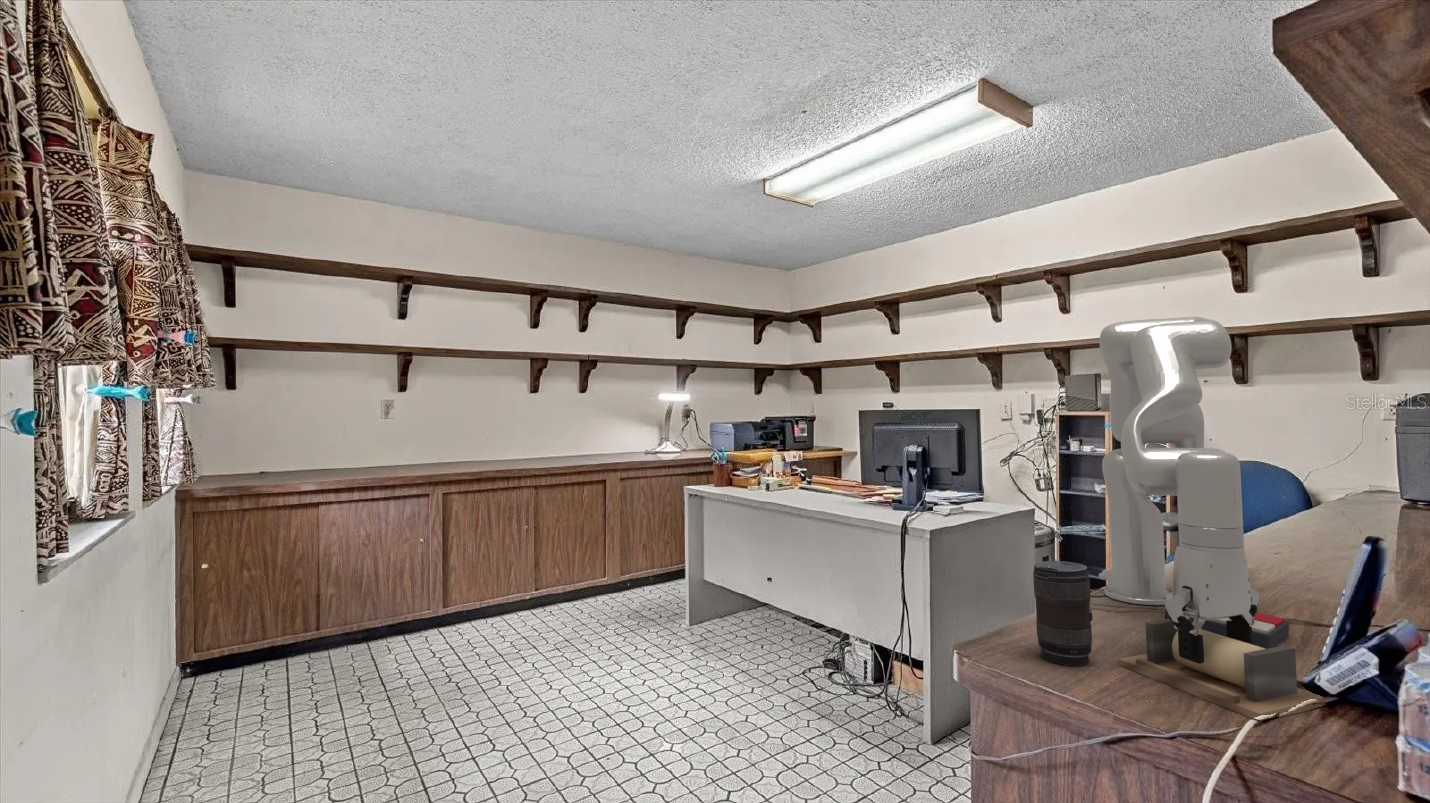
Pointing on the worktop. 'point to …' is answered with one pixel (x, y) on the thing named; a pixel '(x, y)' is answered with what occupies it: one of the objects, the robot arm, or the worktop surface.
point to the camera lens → (1063, 611)
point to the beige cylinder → (1219, 657)
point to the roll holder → (1265, 680)
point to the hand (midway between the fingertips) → (1216, 655)
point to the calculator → (1253, 629)
